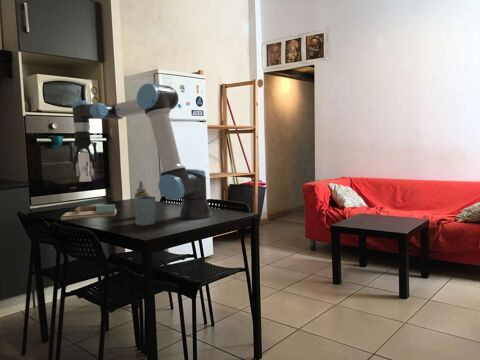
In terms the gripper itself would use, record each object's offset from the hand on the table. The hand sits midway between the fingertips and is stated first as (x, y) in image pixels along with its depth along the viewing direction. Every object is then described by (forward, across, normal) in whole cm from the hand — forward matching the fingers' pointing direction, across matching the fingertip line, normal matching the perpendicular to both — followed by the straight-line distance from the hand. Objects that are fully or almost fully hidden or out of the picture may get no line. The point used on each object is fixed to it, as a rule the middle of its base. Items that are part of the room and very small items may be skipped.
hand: (85, 175), depth 221 cm
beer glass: (+3, 0, 0) cm, 3 cm away
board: (+21, -1, +2) cm, 21 cm away
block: (+19, -10, +8) cm, 23 cm away
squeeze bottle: (+21, -28, +20) cm, 40 cm away
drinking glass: (+21, -29, +38) cm, 52 cm away
